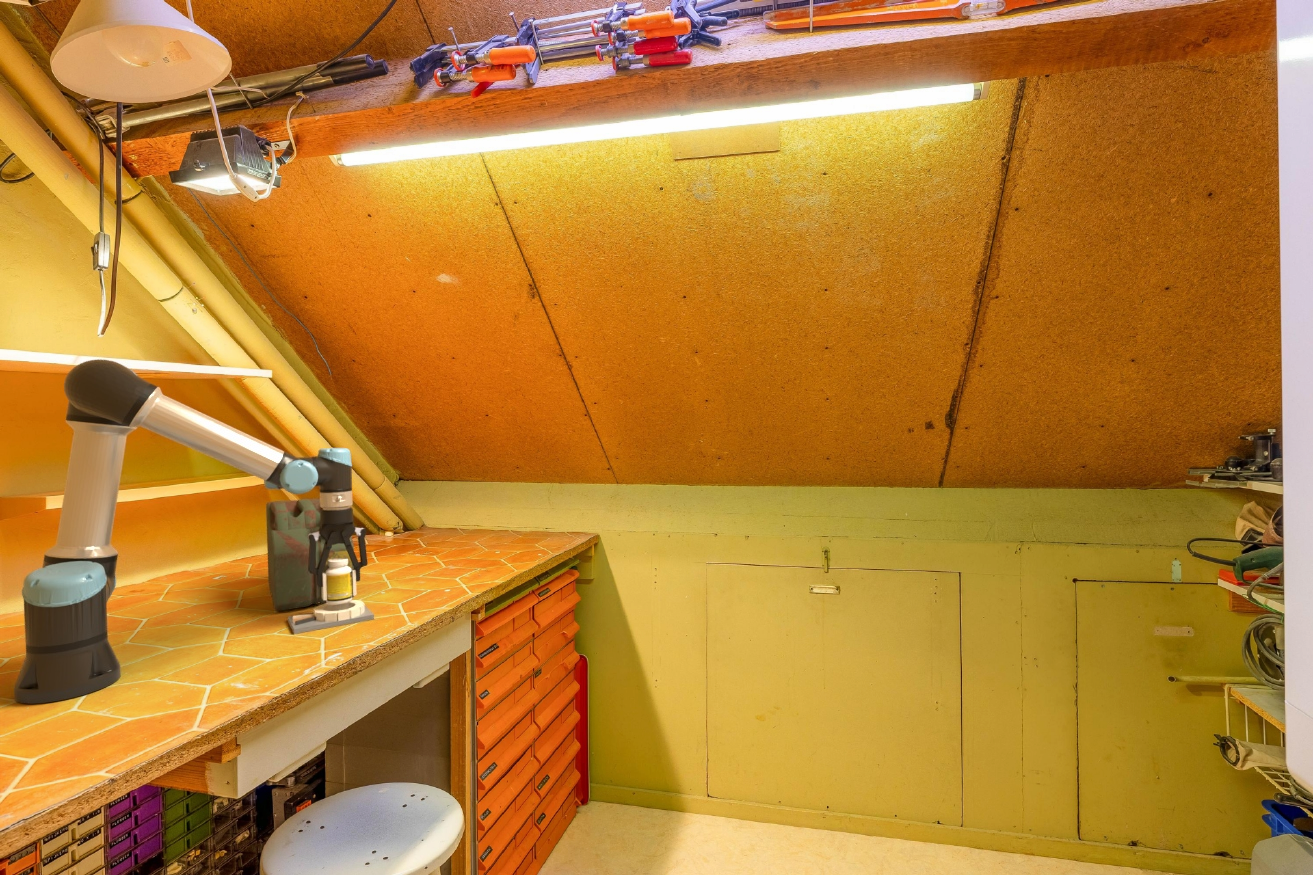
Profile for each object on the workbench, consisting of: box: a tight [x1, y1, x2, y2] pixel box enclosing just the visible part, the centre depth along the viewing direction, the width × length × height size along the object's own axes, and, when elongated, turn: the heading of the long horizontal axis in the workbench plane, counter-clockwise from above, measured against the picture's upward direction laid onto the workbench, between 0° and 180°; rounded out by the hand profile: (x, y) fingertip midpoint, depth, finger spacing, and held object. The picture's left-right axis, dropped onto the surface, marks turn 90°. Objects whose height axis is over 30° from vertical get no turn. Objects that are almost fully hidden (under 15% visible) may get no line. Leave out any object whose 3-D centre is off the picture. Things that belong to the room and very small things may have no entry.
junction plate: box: [287, 599, 375, 635], centre depth 162 cm, size 18×12×3 cm, turn 127°
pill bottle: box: [325, 558, 354, 605], centre depth 162 cm, size 6×6×11 cm
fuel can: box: [265, 498, 355, 612], centre depth 185 cm, size 19×35×27 cm, turn 34°
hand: (339, 596), depth 163 cm, fingers closed on pill bottle, 6 cm apart
